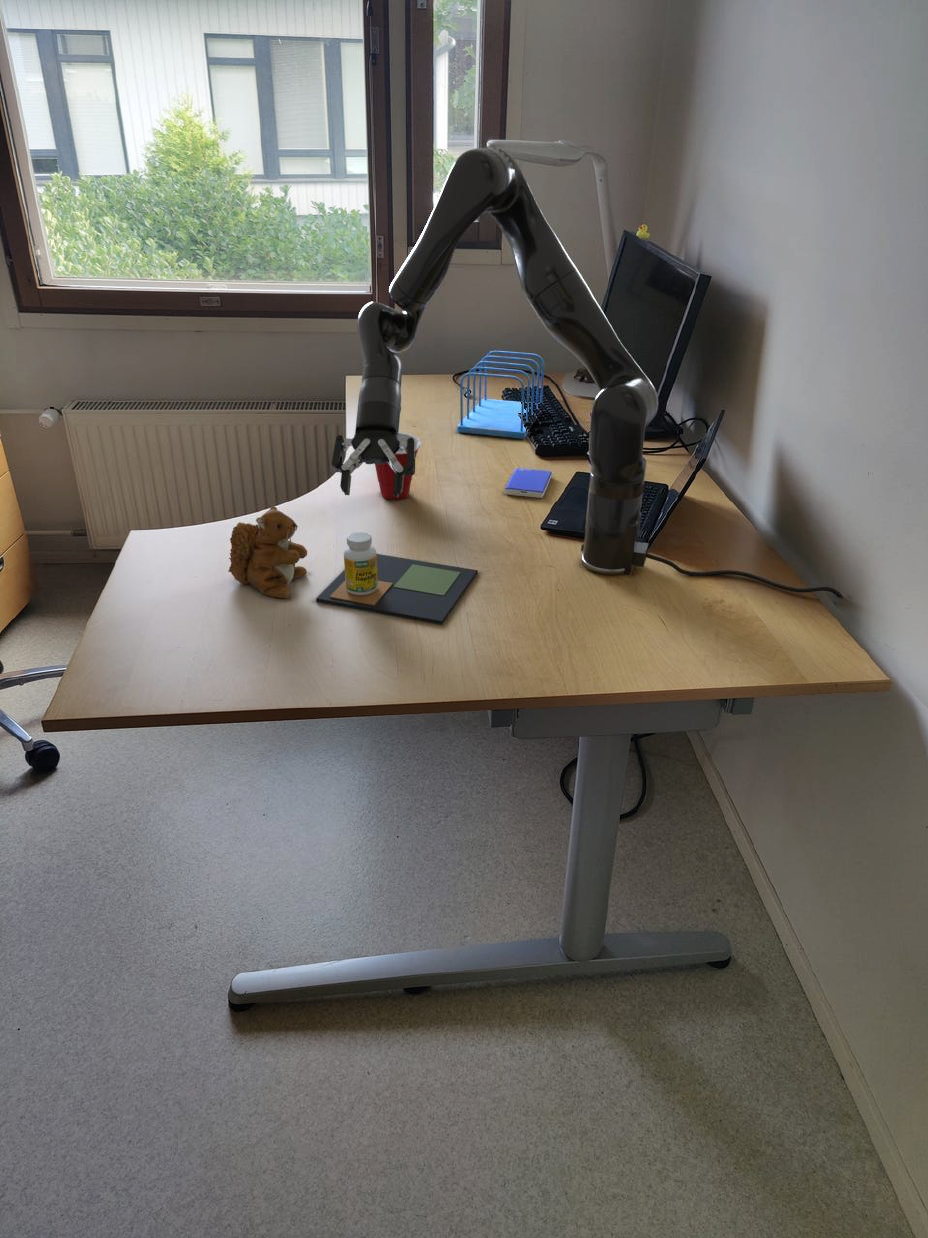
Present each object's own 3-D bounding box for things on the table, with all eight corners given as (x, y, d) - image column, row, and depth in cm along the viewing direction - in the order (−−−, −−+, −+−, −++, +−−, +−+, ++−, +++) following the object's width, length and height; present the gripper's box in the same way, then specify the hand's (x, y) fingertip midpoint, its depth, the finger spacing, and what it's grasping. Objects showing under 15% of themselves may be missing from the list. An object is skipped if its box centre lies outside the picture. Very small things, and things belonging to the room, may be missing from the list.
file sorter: (482, 405, 244) (484, 348, 236) (544, 411, 240) (548, 353, 232) (456, 432, 223) (457, 371, 216) (524, 440, 219) (527, 377, 212)
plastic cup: (390, 509, 180) (389, 452, 174) (359, 493, 187) (357, 438, 181) (431, 496, 187) (432, 441, 181) (400, 481, 194) (399, 428, 188)
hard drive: (515, 467, 198) (504, 487, 188) (552, 470, 196) (543, 491, 186) (515, 474, 199) (504, 494, 188) (551, 477, 197) (542, 498, 187)
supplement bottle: (368, 578, 152) (366, 527, 147) (383, 591, 148) (382, 538, 143) (340, 586, 149) (337, 534, 145) (354, 599, 146) (352, 546, 141)
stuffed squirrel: (291, 601, 146) (284, 527, 140) (215, 588, 150) (205, 516, 143) (317, 575, 155) (312, 504, 148) (244, 563, 158) (236, 494, 151)
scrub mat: (477, 573, 156) (477, 569, 156) (441, 624, 141) (442, 620, 140) (362, 554, 162) (362, 550, 162) (316, 601, 146) (315, 597, 146)
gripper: (335, 397, 153) (325, 484, 149) (417, 400, 153) (410, 487, 148) (342, 418, 161) (334, 501, 156) (421, 420, 160) (414, 504, 156)
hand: (371, 494), depth 152 cm, fingers open, 8 cm apart
